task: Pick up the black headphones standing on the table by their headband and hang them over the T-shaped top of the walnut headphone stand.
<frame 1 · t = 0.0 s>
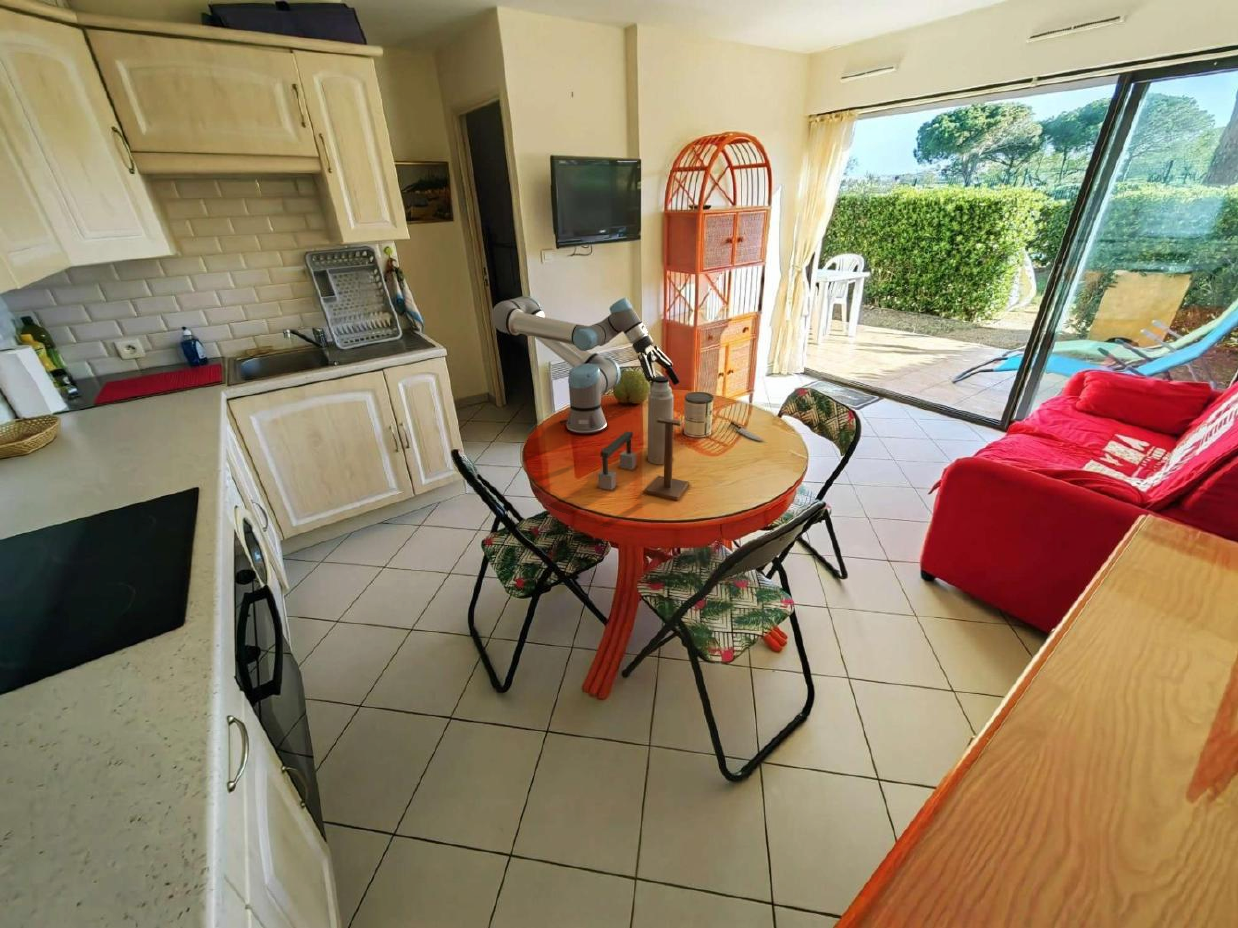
hand: (670, 388, 188), 15 cm above the table, tool tilted 35°, fingers open, 13 cm apart
coffee can: (697, 432, 190), on the table
thermos bottle: (659, 459, 170), on the table
chef's knife: (743, 433, 188), on the table
headphones: (617, 476, 159), on the table
stand: (667, 489, 151), on the table
fruit: (631, 402, 220), on the table
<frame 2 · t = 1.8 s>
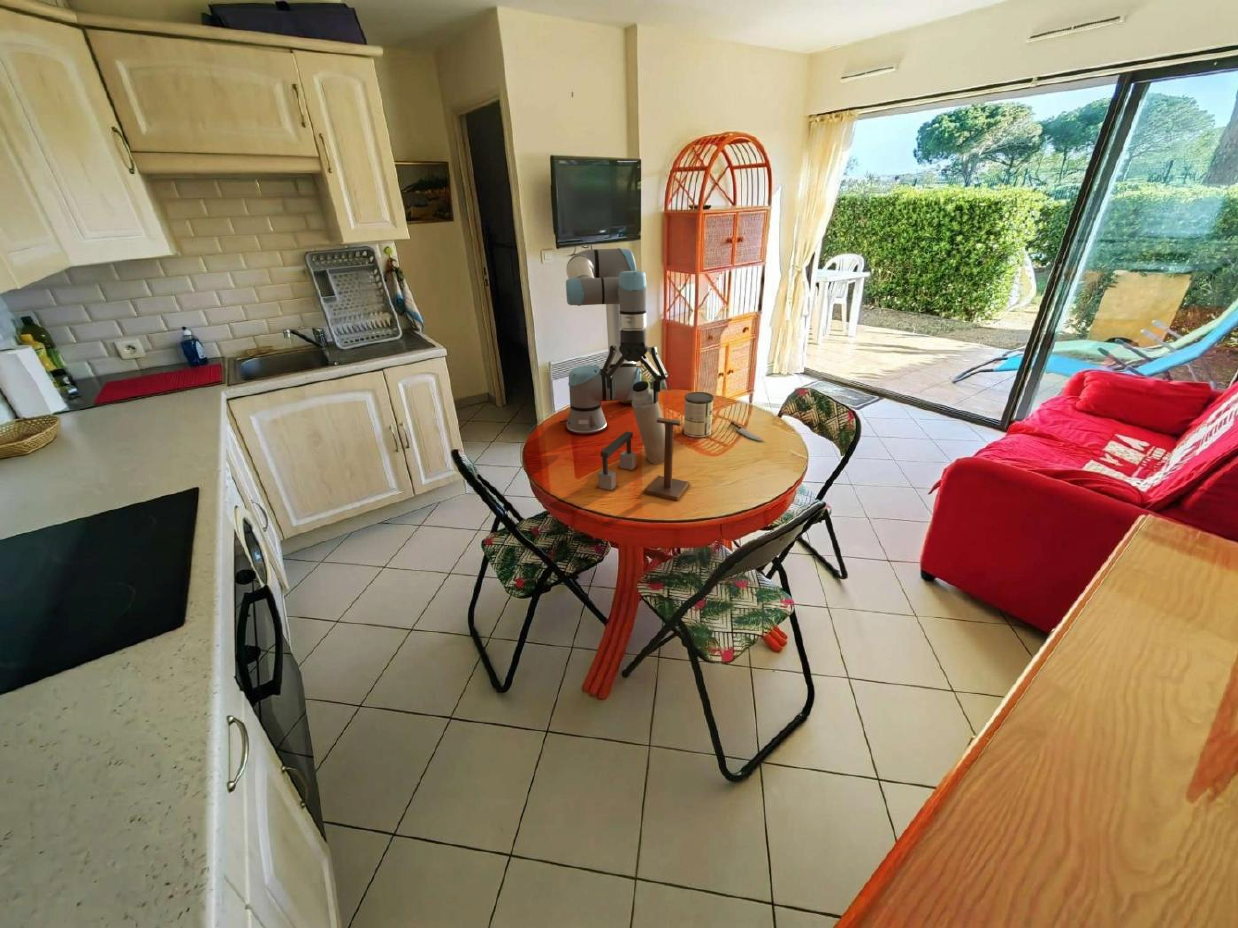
hand: (633, 400, 154), 23 cm above the table, tool pointing down, fingers open, 13 cm apart
thermos bottle: (659, 456, 169), point 1 cm above the table
everything else where it was.
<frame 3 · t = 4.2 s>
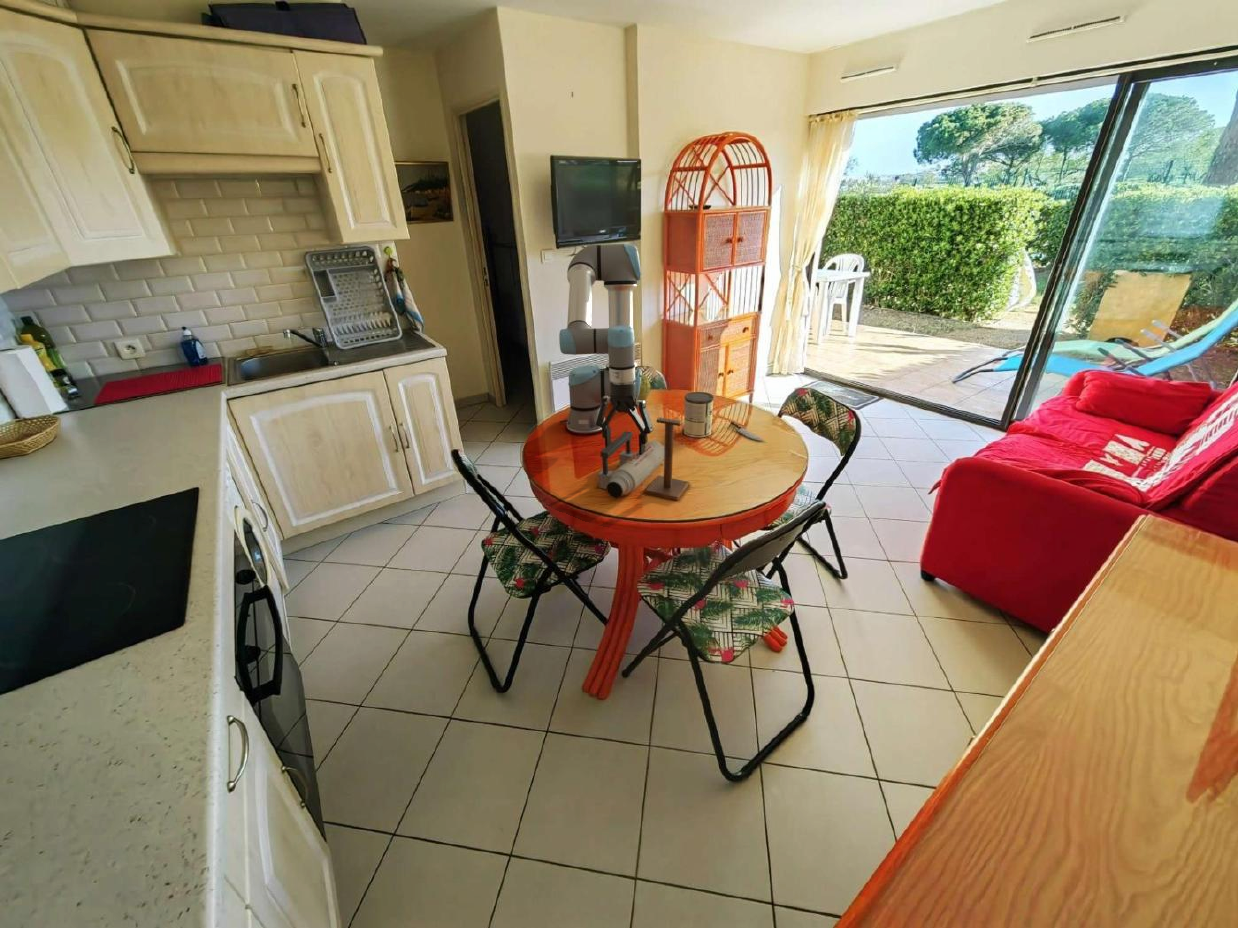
hand: (625, 450, 158), 8 cm above the table, tool pointing down, fingers open, 11 cm apart
thermos bottle: (655, 452, 165), point 4 cm above the table, touching gripper
everything else where it was.
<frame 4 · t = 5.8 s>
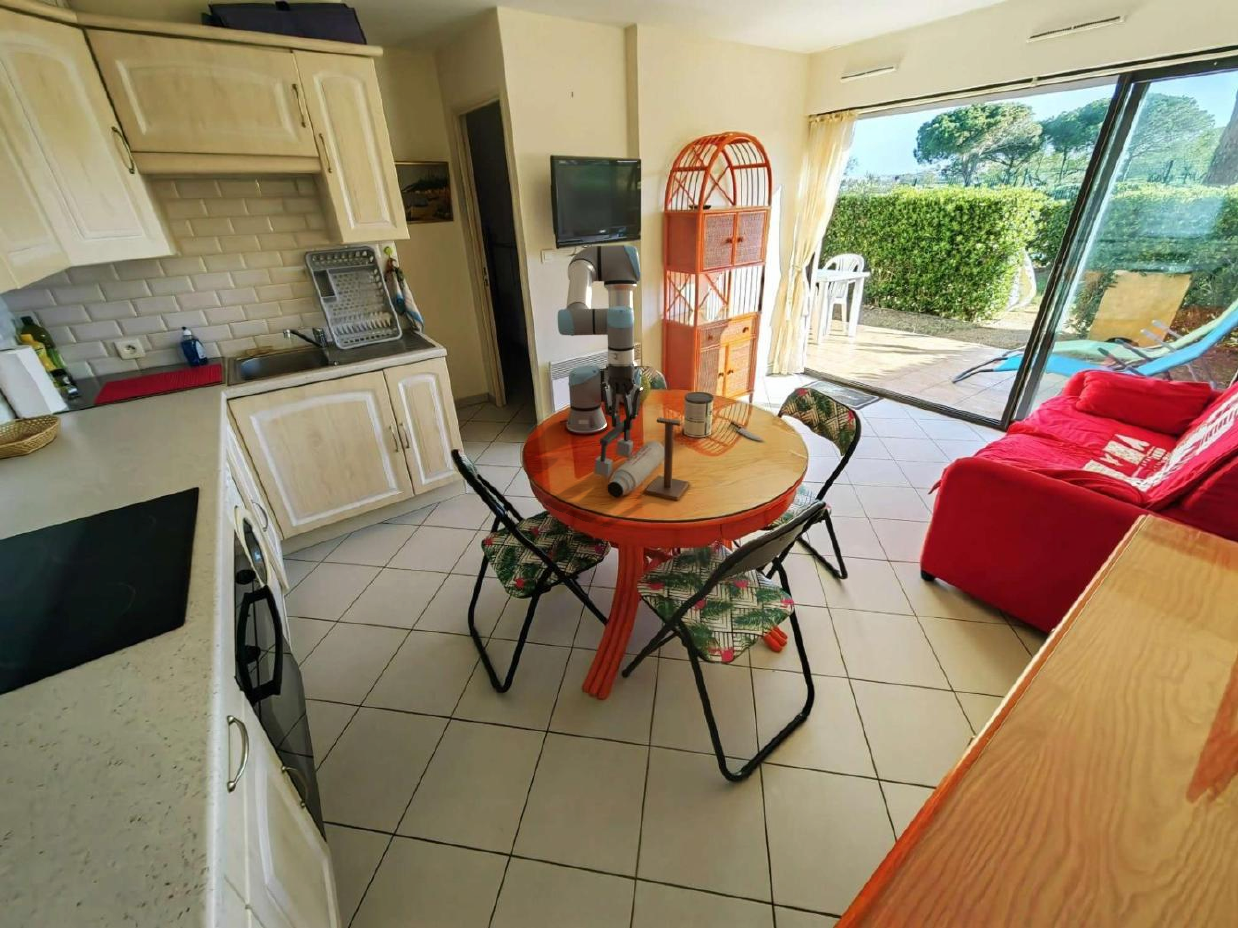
hand: (622, 437, 157), 12 cm above the table, tool pointing down, fingers closed on headphones, 3 cm apart
thermos bottle: (654, 451, 166), point 4 cm above the table
headphones: (613, 463, 158), point 4 cm above the table, tilted 7°, touching gripper
everything else where it was.
when the fingers open (19 cm above the table, at t = 10.7 s): headphones stays where it is, resting on stand.
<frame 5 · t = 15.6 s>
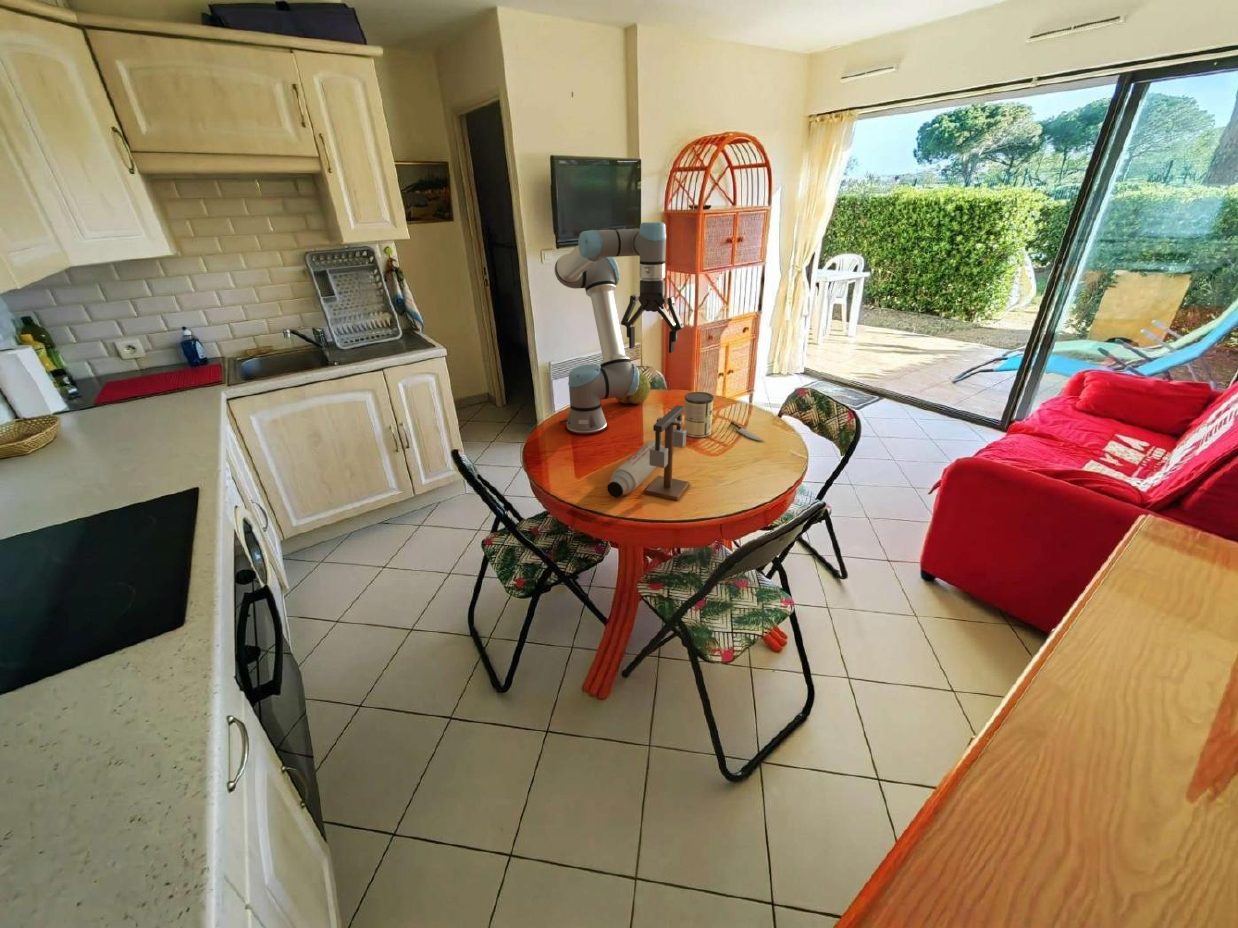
hand: (651, 350, 162), 35 cm above the table, tool pointing down, fingers open, 13 cm apart
headphones: (668, 454, 146), point 12 cm above the table, touching stand
everything else where it was.
at the end: headphones 0.2 cm off-centre on the stand, point 11.6 cm above the stand's base; headphones touching stand; the gripper is holding nothing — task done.
